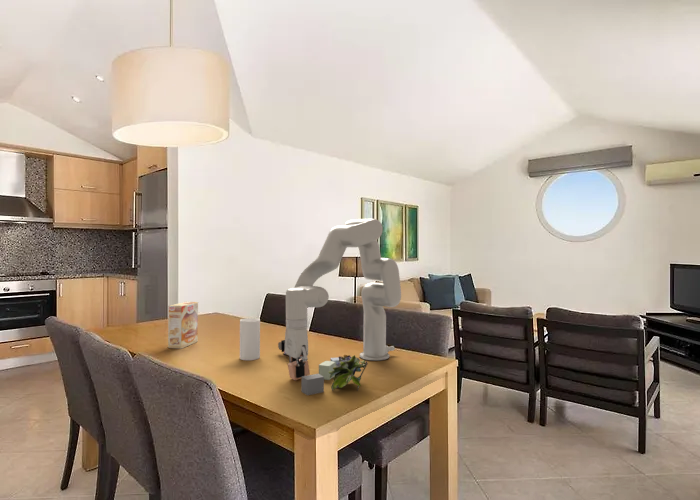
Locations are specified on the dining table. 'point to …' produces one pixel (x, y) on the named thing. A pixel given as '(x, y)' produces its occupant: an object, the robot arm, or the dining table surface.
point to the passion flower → (347, 371)
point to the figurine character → (283, 347)
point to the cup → (249, 339)
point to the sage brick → (326, 369)
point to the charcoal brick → (312, 384)
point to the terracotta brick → (293, 369)
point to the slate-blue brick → (335, 360)
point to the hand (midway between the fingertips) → (297, 374)
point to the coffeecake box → (182, 324)
